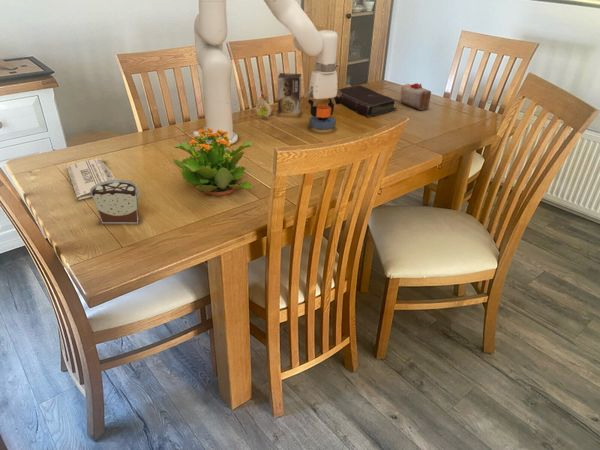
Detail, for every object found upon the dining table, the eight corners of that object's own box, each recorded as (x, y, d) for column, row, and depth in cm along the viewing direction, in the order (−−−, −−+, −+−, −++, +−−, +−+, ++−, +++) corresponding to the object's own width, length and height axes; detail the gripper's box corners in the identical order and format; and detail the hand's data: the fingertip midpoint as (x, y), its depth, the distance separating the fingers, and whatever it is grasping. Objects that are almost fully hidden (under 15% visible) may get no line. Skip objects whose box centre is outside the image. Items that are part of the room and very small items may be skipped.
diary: (366, 118, 196) (367, 106, 193) (328, 101, 212) (329, 90, 210) (397, 110, 205) (399, 98, 202) (359, 95, 222) (360, 84, 219)
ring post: (316, 134, 178) (317, 114, 174) (305, 126, 186) (305, 106, 181) (339, 131, 182) (341, 111, 178) (327, 122, 189) (328, 103, 185)
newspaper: (123, 190, 137) (120, 183, 136) (79, 204, 133) (76, 196, 131) (107, 160, 153) (105, 153, 152) (68, 171, 149) (65, 164, 147)
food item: (396, 102, 214) (399, 80, 209) (409, 100, 218) (412, 78, 212) (418, 111, 204) (422, 88, 199) (431, 108, 208) (435, 86, 203)
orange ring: (318, 118, 177) (318, 110, 175) (310, 113, 182) (311, 105, 180) (333, 116, 179) (333, 108, 178) (325, 111, 184) (325, 103, 183)
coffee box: (300, 112, 199) (301, 73, 191) (299, 117, 194) (300, 77, 185) (279, 110, 200) (279, 72, 191) (277, 116, 195) (277, 76, 186)
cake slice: (149, 211, 128) (144, 178, 122) (144, 223, 123) (137, 189, 117) (103, 211, 127) (96, 178, 122) (96, 223, 122) (87, 189, 117)
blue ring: (317, 130, 178) (317, 124, 176) (305, 122, 185) (306, 116, 183) (339, 127, 181) (339, 121, 180) (327, 119, 188) (327, 113, 187)
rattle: (280, 117, 193) (280, 89, 187) (265, 121, 189) (264, 93, 182) (269, 112, 198) (269, 85, 192) (253, 116, 193) (253, 88, 187)
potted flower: (277, 192, 139) (277, 136, 130) (210, 220, 125) (205, 160, 115) (226, 164, 154) (222, 113, 144) (161, 187, 140) (153, 131, 130)
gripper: (340, 63, 177) (336, 109, 187) (299, 66, 171) (297, 114, 180) (350, 68, 172) (346, 115, 181) (308, 71, 165) (306, 120, 174)
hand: (321, 114), depth 181 cm, fingers closed on orange ring, 6 cm apart
